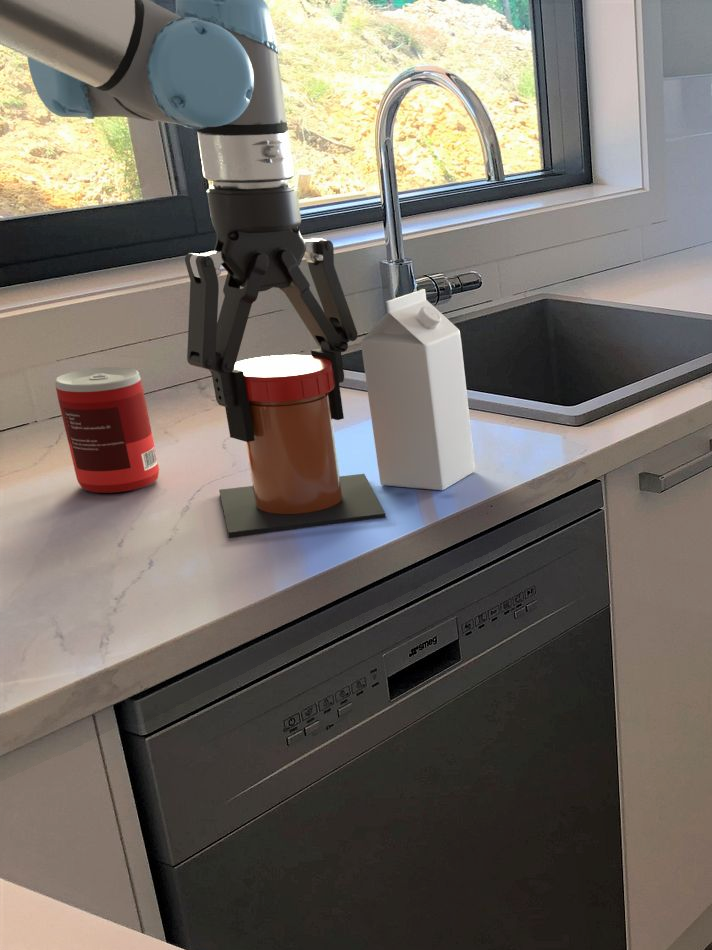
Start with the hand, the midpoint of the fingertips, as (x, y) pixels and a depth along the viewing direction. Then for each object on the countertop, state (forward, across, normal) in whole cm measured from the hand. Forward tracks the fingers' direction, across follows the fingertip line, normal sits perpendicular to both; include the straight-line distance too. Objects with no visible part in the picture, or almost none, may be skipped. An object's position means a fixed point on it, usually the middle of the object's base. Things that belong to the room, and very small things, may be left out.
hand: (288, 427), depth 134 cm
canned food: (+8, -6, +21) cm, 23 cm away
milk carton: (+8, +13, -3) cm, 16 cm away
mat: (+8, 0, 0) cm, 8 cm away
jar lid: (-6, 0, 0) cm, 6 cm away
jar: (+7, 0, 0) cm, 7 cm away
